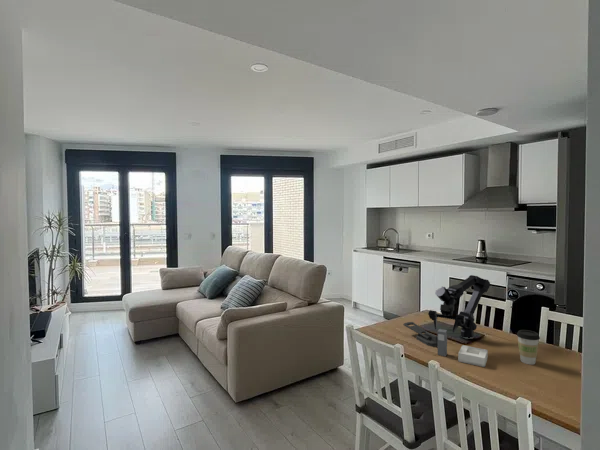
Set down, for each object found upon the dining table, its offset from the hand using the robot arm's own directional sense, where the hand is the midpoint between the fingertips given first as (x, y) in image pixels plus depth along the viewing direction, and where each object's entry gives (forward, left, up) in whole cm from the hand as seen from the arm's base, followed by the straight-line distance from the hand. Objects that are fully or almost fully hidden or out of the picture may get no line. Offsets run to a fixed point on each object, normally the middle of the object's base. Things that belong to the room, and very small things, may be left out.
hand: (444, 330), depth 188 cm
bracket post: (+4, +3, -11) cm, 13 cm away
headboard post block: (-6, +14, -11) cm, 19 cm away
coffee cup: (-30, +25, -12) cm, 41 cm away
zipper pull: (0, -19, -12) cm, 23 cm away
